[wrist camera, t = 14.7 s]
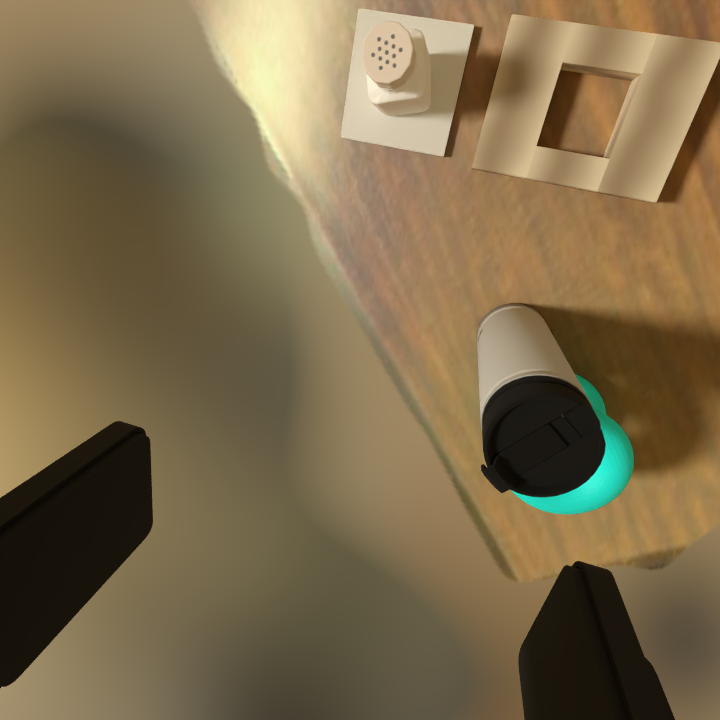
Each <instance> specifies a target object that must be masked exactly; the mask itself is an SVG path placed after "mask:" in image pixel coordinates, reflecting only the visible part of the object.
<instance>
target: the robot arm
mask: <svg viewBox="0 0 720 720" xmlns="http://www.w3.org/2000/svg"><path fill="white" fill-rule="evenodd" d="M152 524H153V511H152V482H151V453H150V439H149V437H147V436H146V433H145V431H144V429H143V428H141V427H137V426H134V425H131V424H128V423H124V422H121V421H117V422H114V423H112V424H110V425H109V426H107V427H106V428H104V429H103V430H101V431H100V432H99V433H97V434H95V435H94V436H93V437H91V438H90V439H88V440H87V441H85V442H84V443H82V444H81V445H79V446H78V447H76V448H75V449H73V450H72V451H70V452H69V453H67V454H66V455H64V456H63V457H61V458H60V459H58V460H57V461H55V462H54V463H52V464H51V465H49V466H48V467H46V468H45V469H43V470H42V471H40V472H39V473H37V474H36V475H34V476H33V477H31V478H30V479H28V480H27V481H25V482H24V483H22V484H21V485H19V486H18V487H16V488H15V489H13V490H12V491H10V492H9V493H7V494H6V495H4V496H3V497H1V498H0V688H1V687H2V686H3V687H5V686H8V685H10V684H11V683H13V682H14V681H15V680H16V679H17V678H18V677H19V676H20V675H21V674H22V673H23V672H24V671H25V670H26V669H27V668H28V667H29V665H30V664H31V663H32V662H33V661H34V660H35V659H36V658H37V657H38V656H39V655H40V653H41V652H42V651H43V650H44V649H45V648H46V647H47V646H48V645H49V644H50V642H51V641H52V640H53V639H54V638H55V637H56V636H57V635H58V633H60V631H61V630H62V629H63V628H64V627H65V626H66V625H67V624H68V623H69V622H70V620H71V619H72V618H73V617H74V616H75V615H76V614H77V613H78V612H79V610H80V609H81V608H82V607H83V606H84V605H85V604H86V603H87V602H88V601H89V600H90V599H91V597H92V596H93V595H94V594H95V593H96V592H97V591H98V590H99V589H100V588H101V587H102V585H103V584H104V583H105V582H106V581H107V580H108V579H109V578H110V577H111V576H112V574H113V573H114V572H115V571H116V570H117V569H118V568H119V567H120V566H121V564H122V563H123V562H124V561H125V560H126V559H127V558H128V557H129V556H130V554H132V552H133V551H134V550H135V549H136V548H137V547H138V546H139V545H140V544H141V543H142V541H143V540H144V539H145V538H146V537H147V535H148V534H149V532H150V530H151V528H152ZM519 674H520V682H521V691H522V699H523V709H524V717H525V720H675V719H674V716H673V713H672V711H671V709H670V706H669V703H668V701H667V698H666V696H665V693H664V691H663V688H662V686H661V683H660V681H659V678H658V676H657V674H656V672H655V670H654V668H653V666H652V665H651V663H650V662H649V661H648V660H647V659H646V658H645V657H644V655H643V652H642V649H641V647H640V644H639V641H638V639H637V636H636V634H635V631H634V629H633V626H632V623H631V621H630V618H629V615H628V613H627V610H626V608H625V605H624V602H623V600H622V597H621V595H620V592H619V589H618V587H617V585H616V582H615V579H614V577H613V575H612V573H611V572H610V571H609V570H607V569H604V568H600V567H597V566H594V565H591V564H587V563H584V562H581V561H577V562H575V563H574V564H573V566H572V567H571V566H568V565H566V566H564V567H563V569H562V571H561V572H560V574H559V576H558V578H557V580H556V582H555V584H554V586H553V587H552V589H551V591H550V593H549V595H548V597H547V599H546V601H545V602H544V604H543V606H542V608H541V610H540V612H539V614H538V616H537V617H536V619H535V621H534V623H533V625H532V627H531V629H530V631H529V632H528V634H527V637H526V638H525V640H524V642H523V644H522V646H521V648H520V652H519Z"/></svg>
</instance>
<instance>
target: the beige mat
mask: <svg viewBox="0 0 720 720" xmlns="http://www.w3.org/2000/svg"><path fill="white" fill-rule="evenodd" d="M385 20H386V21H394V22H399V23H400V24H401V25H402V26H403V27H404V28H405V29H414V28H415V29H418V30H420V31H422V33H423V35H424V38H425V41H426V45H427V49H428V53H429V57H430V65H431V105H430V108H429V109H427V110H426V111H424V112H417V113H410V114H403V115H396V116H387V115H384V114H383V113H382V112H381V111H380V110H379V109H378V108H377V107H375V106H374V105H373V104H372V102H371V100H370V98H369V95H368V86H367V75H366V72H365V69H364V65H363V62H362V59H361V54H362V47H363V41H364V39H365V38H366V36H367V35H368V33H369V32H370V30H371V28H372V27H374V26H376V25H378V24H379V23H381V22H383V21H385ZM473 30H474V25H472V24H465V23H458V22H451V21H444V20H437V19H430V18H423V17H416V16H409V15H402V14H395V13H388V12H381V11H374V10H367V9H360V8H359V10H358V17H357V24H356V31H355V38H354V46H353V53H352V60H351V67H350V74H349V81H348V88H347V95H346V102H345V109H344V117H343V124H342V131H341V138H344V139H350V140H355V141H361V142H366V143H371V144H377V145H382V146H387V147H393V148H398V149H403V150H409V151H414V152H420V153H425V154H430V155H436V156H441V157H444V154H445V150H446V145H447V141H448V137H449V133H450V128H451V124H452V120H453V115H454V111H455V107H456V103H457V98H458V94H459V90H460V86H461V81H462V77H463V73H464V69H465V64H466V60H467V56H468V51H469V47H470V43H471V39H472V34H473Z"/></svg>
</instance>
